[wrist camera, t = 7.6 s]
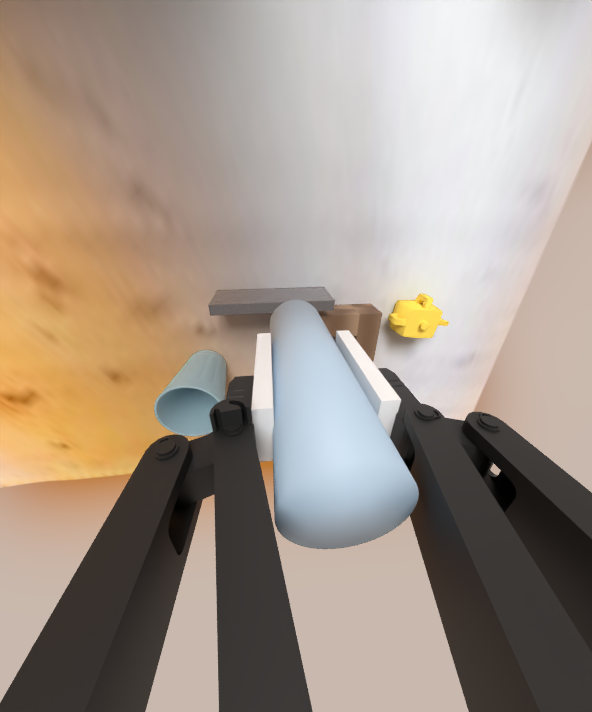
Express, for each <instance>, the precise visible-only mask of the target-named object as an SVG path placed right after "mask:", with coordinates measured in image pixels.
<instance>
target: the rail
mask: <svg viewBox="0 0 592 712" xmlns="http://www.w3.org/2000/svg"><path fill="white" fill-rule="evenodd" d="M290 300H302V301H306V302H308V303H310V304H311V305H312V306H313V307H314V308H315V309H316V310H317V311H334V301H335V300H334V299H333V298H332V297H331V295H330V294H329V293H328V292H327V291H326V289H325V288H324V287H307V288H275V289H244V290H218V291H217V292H216V294H215V295H214V297H213V299H212V300H211V302H210V303H209V305H208V306H209V311H210V316H212V315H236V314H261V313H273V312H274V310H275V309H276V308H277V307H278V306H279V305H281V304H282V303H284V302H287V301H290Z"/></svg>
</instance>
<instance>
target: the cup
mask: <svg viewBox="0 0 592 712" xmlns="http://www.w3.org/2000/svg"><path fill="white" fill-rule="evenodd" d="M226 371H227V368H226V362H225V360H224V358H223V357H222V356H221V355H220V354H218V353H216V352H214V351H210V350H201V351H198V352H196V353H195V354H193V355H192V356H191V357H190V358H189V360H188V361H187V362H186V363H185V365H184V366H183V367H182V368H181V370H180V371H179V372H178V373H177V375H176V376H175V377H174V378H173V379H172V381H171V382H170V383H169V384H168V386H167V387H166V388H165V389H164V390H163V392H162V393H161V394H160V395H159V397H158V398H157V400H156V402H155V405H154V412H155V416H156V418H157V419H158V421H159V422H160V423H161V424H162V425H163V426H164V427H165V428H166V429H168V430H170V431H172V432H174V433H177V434H180V435H184V436H202V435H206V434H209V433H211V432H213V430H212V425H211V420H210V416H209V414H210V410H211V409H212V407H213V406H214V405H215V404H217V403H219V402H220V401H222V400H225V393H226Z"/></svg>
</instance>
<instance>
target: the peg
mask: <svg viewBox="0 0 592 712" xmlns="http://www.w3.org/2000/svg"><path fill="white" fill-rule="evenodd" d="M269 326H270V333H271V355H272V382H273V409H274V427H273V435H272V438H273V473H274V474H273V475H274V512H275V524H276V527H277V529H278V531H279V532H280V533H281V534H282V536H284V537H285V538H286V539H288V540H289V541H291V542H293V543H295V544H298V545H301V546H304V547H309V548H317V549H336V548H344V547H350V546H355V545H358V544H362V543H366V542H368V541H371V540H374V539H376V538H378V537H381V536H383V535H385V534H387V533H388V532H390V531H392V530H393V529H394V528H396V527H397V526H399V525H400V524H401V523H402V522H403V521H405V520H406V519H407V518H408V516H409V515H410V514H411V513H412V511H413V510H414V508H415V506H416V504H417V501H418V496H419V491H418V487H417V484H416V482H415V480H414V479H413V477H412V475H411V473H410V472H409V470H408V468H407V466H406V465H405V463H404V461H403V459H402V458H401V456H400V454H399V452H398V451H397V449H396V447H395V445H394V444H393V442H392V440H391V439H390V437H389V435H388V433H387V432H386V430H385V428H384V426H383V425H382V423H381V421H380V419H379V418H378V416H377V414H376V412H375V411H374V409H373V407H372V405H371V404H370V402H369V400H368V398H367V397H366V395H365V393H364V392H363V390H362V388H361V386H360V385H359V383H358V381H357V379H356V378H355V376H354V374H353V372H352V371H351V369H350V367H349V365H348V364H347V362H346V360H345V358H344V357H343V355H342V353H341V351H340V350H339V348H338V346H337V345H336V343H335V341H334V339H333V338H332V336H331V334H330V332H329V331H328V329H327V327H326V325H325V324H324V322H323V320H322V318H321V317H320V315H319V313H318V312H317V310H316V309H315V308H314V307H313V306H312V305H311V304H310V303H308V302H306V301H302V300H290V301H287V302H284V303H282V304H281V305H279V306H278V307H277V308H276V309H275V310H274V312H273V313H272V315H271V318H270V325H269Z"/></svg>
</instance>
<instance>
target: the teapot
mask: <svg viewBox="0 0 592 712" xmlns="http://www.w3.org/2000/svg"><path fill="white" fill-rule="evenodd" d="M432 302H433V298H431V297H429V296H428V295H426V294H419V295H418V297H417V298H416V299H415V300H398V301H397V302H396V305H395V308H394V311H393V314H389V317H388V320H389V321H390V325H389V326H390V328H391V329H392V330H394V331H395V332H396V333H398V334H400V335H401V336H403V337H412V338H432V337H433V335H434V333H435V330H436V328H437V326H438V325H444V326H448V323H449V322H448V321H445V320H443V319H441V316H442V313H443V312H442V311H441V310H440V309H438V308H437V307H436V306H434V305H433V304H432Z"/></svg>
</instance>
